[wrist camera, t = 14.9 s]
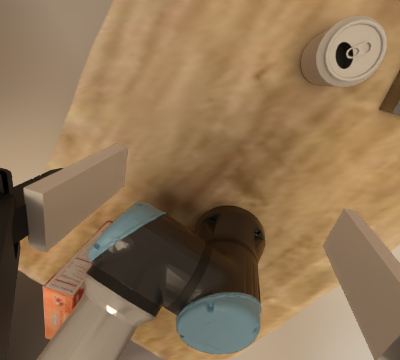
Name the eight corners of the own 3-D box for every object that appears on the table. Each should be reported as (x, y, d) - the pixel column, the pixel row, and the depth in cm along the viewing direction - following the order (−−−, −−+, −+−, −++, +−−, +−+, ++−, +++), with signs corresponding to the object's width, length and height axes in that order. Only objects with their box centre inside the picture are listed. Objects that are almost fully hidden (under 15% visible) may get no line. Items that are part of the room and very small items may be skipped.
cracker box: (125, 268, 63) (72, 349, 44) (104, 261, 64) (42, 338, 45) (130, 226, 57) (73, 299, 38) (107, 219, 58) (39, 287, 39)
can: (294, 44, 37) (313, 30, 26) (347, 23, 35) (391, -3, 24) (304, 92, 40) (326, 96, 29) (354, 75, 37) (398, 72, 26)
